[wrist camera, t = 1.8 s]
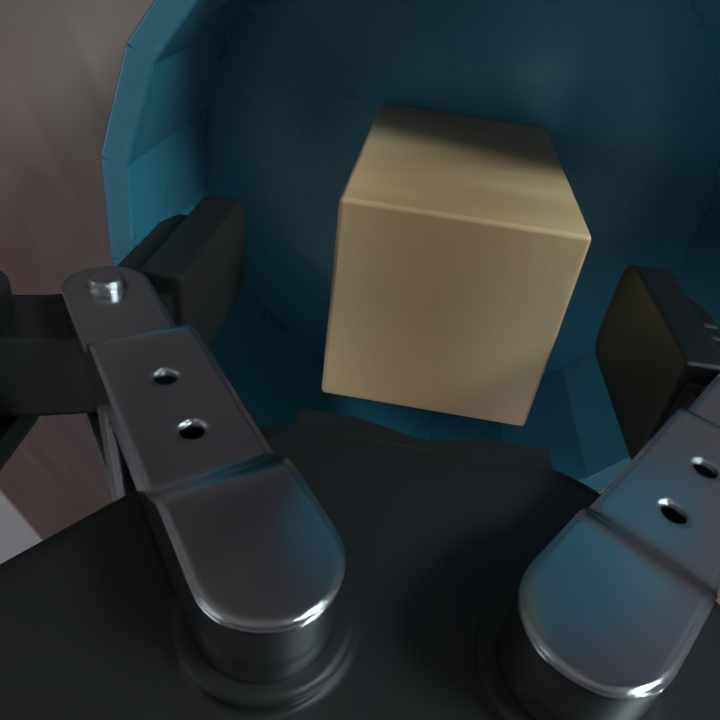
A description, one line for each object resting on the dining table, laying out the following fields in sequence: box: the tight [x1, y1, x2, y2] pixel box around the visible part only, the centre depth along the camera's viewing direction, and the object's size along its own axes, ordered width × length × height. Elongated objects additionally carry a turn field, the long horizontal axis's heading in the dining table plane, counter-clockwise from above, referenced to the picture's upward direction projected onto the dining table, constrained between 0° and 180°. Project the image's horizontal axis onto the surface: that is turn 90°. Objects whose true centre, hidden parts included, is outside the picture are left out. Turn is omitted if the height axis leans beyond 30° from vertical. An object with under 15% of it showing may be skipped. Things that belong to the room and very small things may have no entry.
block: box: [322, 103, 591, 426], centre depth 15 cm, size 4×4×7 cm
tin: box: [101, 0, 720, 491], centre depth 16 cm, size 15×15×6 cm
